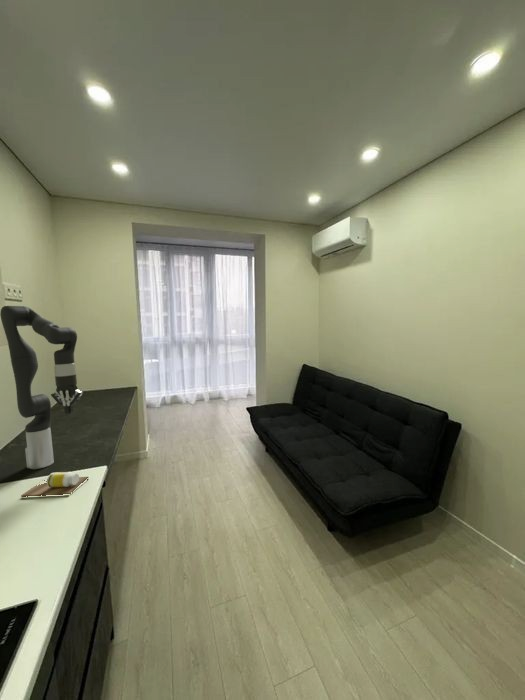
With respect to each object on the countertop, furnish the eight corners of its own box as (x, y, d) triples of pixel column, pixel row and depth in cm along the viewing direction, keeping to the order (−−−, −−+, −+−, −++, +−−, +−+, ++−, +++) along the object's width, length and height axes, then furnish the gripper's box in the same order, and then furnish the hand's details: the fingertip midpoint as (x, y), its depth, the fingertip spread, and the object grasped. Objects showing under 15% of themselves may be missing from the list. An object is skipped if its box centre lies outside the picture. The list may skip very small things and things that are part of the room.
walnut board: (21, 498, 108) (21, 495, 108) (45, 481, 120) (44, 479, 120) (69, 495, 108) (69, 492, 108) (88, 479, 120) (88, 476, 120)
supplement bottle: (47, 490, 111) (72, 489, 110) (44, 477, 110) (69, 477, 109) (58, 481, 116) (81, 480, 116) (55, 469, 115) (79, 468, 115)
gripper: (86, 372, 128) (89, 410, 129) (56, 373, 127) (59, 412, 129) (75, 374, 120) (78, 415, 121) (43, 376, 120) (47, 417, 121)
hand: (69, 413), depth 125 cm, fingers closed
